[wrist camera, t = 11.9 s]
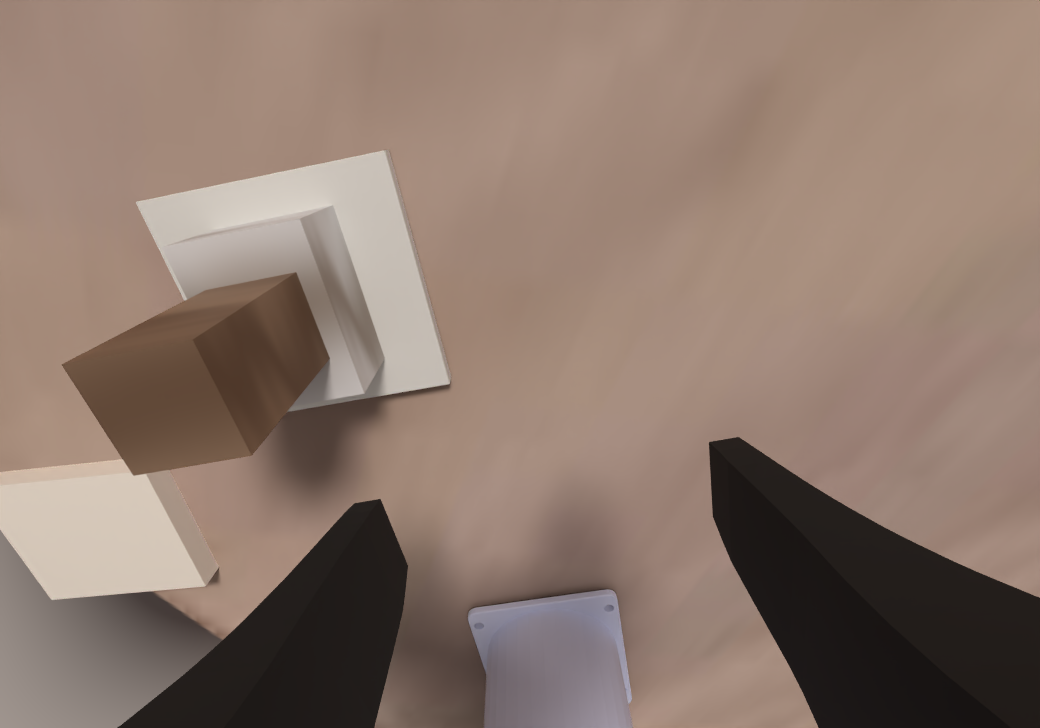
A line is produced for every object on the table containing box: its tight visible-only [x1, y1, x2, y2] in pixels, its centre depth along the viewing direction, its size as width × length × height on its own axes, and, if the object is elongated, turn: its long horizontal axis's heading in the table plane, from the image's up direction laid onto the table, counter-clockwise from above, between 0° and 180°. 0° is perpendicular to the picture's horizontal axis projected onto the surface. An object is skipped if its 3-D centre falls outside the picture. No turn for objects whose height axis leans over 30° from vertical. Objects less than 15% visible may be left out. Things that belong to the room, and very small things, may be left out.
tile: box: [0, 459, 219, 600], centre depth 24 cm, size 7×2×8 cm
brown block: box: [62, 205, 385, 476], centre depth 15 cm, size 6×4×8 cm
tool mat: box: [136, 150, 451, 412], centre depth 19 cm, size 9×9×1 cm
